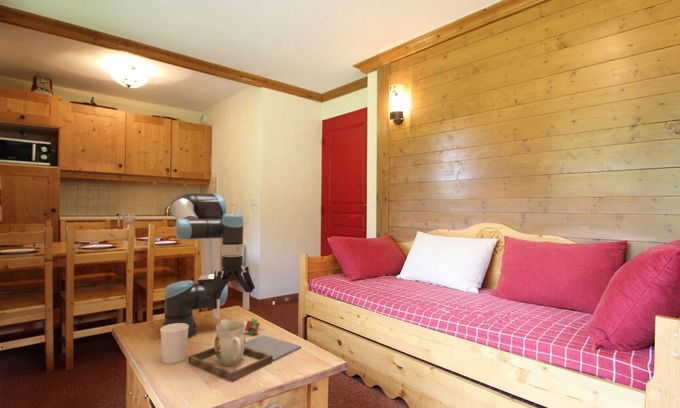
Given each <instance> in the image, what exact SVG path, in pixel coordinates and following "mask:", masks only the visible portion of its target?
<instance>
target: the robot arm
mask: <svg viewBox="0 0 680 408" xmlns="http://www.w3.org/2000/svg"><path fill="white" fill-rule="evenodd" d="M170 212H171V215H172V216H173V217H174V218H175V219H176V220H175V224H174V225H175V226H174V232H175V233H174V234H175V238H176V239H178V240H199V239H200V276H199V277H198V278H197V282H196V283H194V281H193V280H180V281H176V282H172V283H170V284H168V285H167V286H166V287H165V291H164V297H163V298H164V319H163V322H162V325H161V327H160V329H161V328H162V327H163V326H166V325H169V324H175V323H185V324H188V325H189V329H188V339H189V338H191V337H194V336H195V335H196V334H197V330H198V329H197V325H196V321H195V319H194V310H201V309H202V310H203V309H209V308H211V309H212V318H215V319H220V313H221V312H220V307H222V306H224V305H225V303H226V301H227V298H228V292H229V287H228V285H229V283H231V282H233V281H234V282H235V281H237V283H238V284H239V285H240V286H241V288H242V289H243V291H242V309H243V310H246V311H247V310H248V311H249V310H250V301H251V293H252V292H254V291H253V290H255V288H256V287H255V284H254V282H253V279H252V277H251V276H252V275H250V271H249V270H250V269H249V268H250V267H249V266H243V265H244V257H243V254H244V253H243V252H244V224H245V222H244V216H243V214H240V213H239V214H238V213H231V214H230V213H227V205H226V200H225V198H224V196H223V195H221V194H218V193H217V194H216V193H193V192H189V193H184V194H181V195H179V196H177V197H175V199H173V200H172V202H171V204H170ZM220 240H221V241H220ZM220 244H221V245H220ZM220 247H221V248H220ZM220 250H221V251H220ZM221 255H222V257H221ZM221 267H222V269H221ZM159 339H161V331H160V330H159Z"/></svg>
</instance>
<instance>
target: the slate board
mask: <svg viewBox="0 0 680 408" xmlns="http://www.w3.org/2000/svg"><path fill="white" fill-rule="evenodd" d="M245 347H248V348H251V349H254V350H257V351H260V352H263V353H266V354H269V355H272V362H275V361H277V360H279V359H282V358H284V357H286V356H288V355H290V354H292V353H295V352H296V351H298V350H300V349H302V345H299V344H296V343H292V342H289V341H285V340H281V339H279V338H274V337H271V336H267V335H264V334H262V335H260V336H258V337H254V338H252V339H250V340H248V341H245Z"/></svg>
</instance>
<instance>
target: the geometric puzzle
mask: <svg viewBox="0 0 680 408" xmlns="http://www.w3.org/2000/svg"><path fill="white" fill-rule="evenodd" d="M250 320H251V321H250ZM250 320H247V321H245V322H244V323H243V324H244V325H245V327H244V331H245V332H246V333H247V334H248V335H250V336H251V337H252V336H253V335H254V333H255V334H256V333H258V332H259V331H260V329H261V328H260V327H261V326H260V324H261V323H260V322H258V320H257V319H255V318H253V317H252V318H250Z"/></svg>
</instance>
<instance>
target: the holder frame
mask: <svg viewBox="0 0 680 408" xmlns="http://www.w3.org/2000/svg"><path fill="white" fill-rule="evenodd" d="M243 355H244V356H247V357H250V358H253V359H257V360H256V361H254V362H251V363H249V364H247V365H245V366H243V367H241V368H238V369H236V370H234V371H232V370H229V369H227V368H224V367H221V366H220V365H217V364H215V363H212V362H209V361H207V360H205V359H208V358H210V357H213V356H216V354H215V347H214V346H213V347H211V348H208V349H205V350H203V351H200V352H198V353H195V354H192V355H189V356H188V363H187V364H189V365H191V366H194V367H196V368H199V369H201V370H203V371H206V372H208V373H210V374H213V375H215V376H218V377H220V378H223V379H224V380H227V381H229V382H232V383H233V382H235V381H237V380H239V379H241V378H244V377H246V376H248V375H250V374H252V373H254V372H256V371H257V370H260V369H262V368H264V367H266V366H268V365H270V364H272V363H273V361H272V355H269V354H266V353H263V352H260V351H257V350H254V349H251V348H248V347H245V349H244V353H243Z"/></svg>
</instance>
